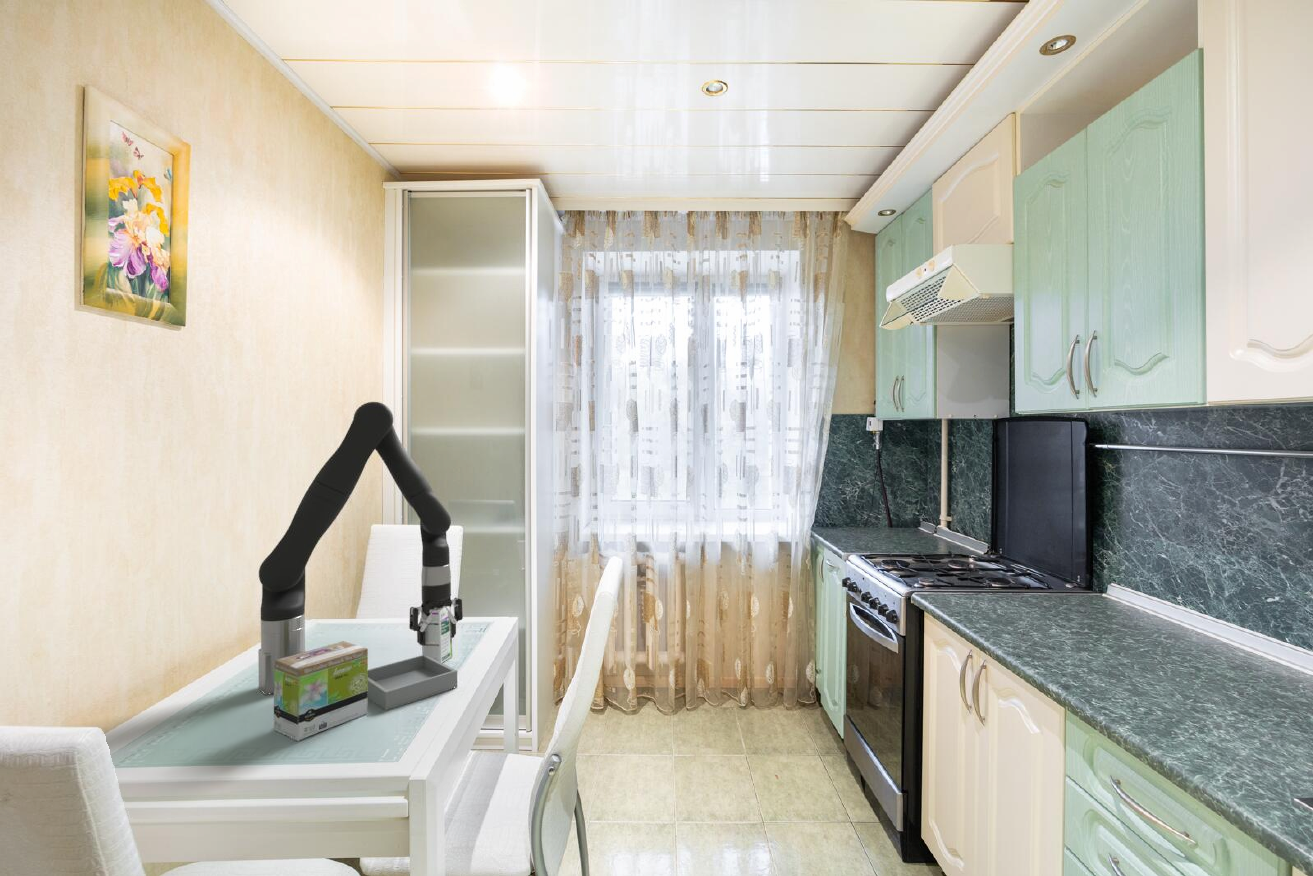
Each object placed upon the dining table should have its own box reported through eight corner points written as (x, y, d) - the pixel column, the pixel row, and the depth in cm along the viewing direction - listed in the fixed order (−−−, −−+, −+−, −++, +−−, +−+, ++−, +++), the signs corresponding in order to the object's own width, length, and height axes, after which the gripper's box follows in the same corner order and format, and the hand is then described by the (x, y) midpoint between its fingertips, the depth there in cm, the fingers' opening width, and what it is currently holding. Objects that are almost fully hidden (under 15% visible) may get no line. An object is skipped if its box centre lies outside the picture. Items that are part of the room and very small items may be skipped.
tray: (386, 710, 134) (385, 692, 134) (356, 689, 146) (356, 673, 146) (457, 687, 147) (457, 670, 147) (425, 669, 158) (425, 654, 158)
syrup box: (441, 664, 162) (440, 610, 162) (421, 663, 163) (420, 609, 163) (452, 657, 168) (452, 604, 168) (433, 656, 169) (432, 603, 169)
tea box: (298, 743, 120) (298, 668, 120) (272, 731, 126) (272, 659, 126) (369, 714, 133) (368, 646, 133) (343, 704, 138) (342, 639, 138)
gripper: (453, 575, 173) (454, 632, 173) (404, 583, 163) (405, 644, 163) (467, 578, 168) (467, 637, 168) (416, 588, 158) (417, 651, 158)
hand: (436, 641), depth 166 cm, fingers closed on syrup box, 8 cm apart
